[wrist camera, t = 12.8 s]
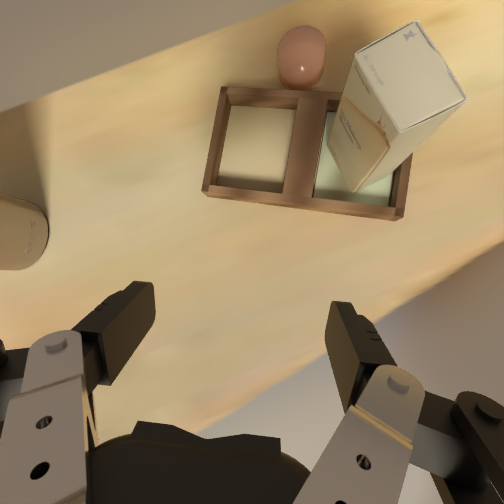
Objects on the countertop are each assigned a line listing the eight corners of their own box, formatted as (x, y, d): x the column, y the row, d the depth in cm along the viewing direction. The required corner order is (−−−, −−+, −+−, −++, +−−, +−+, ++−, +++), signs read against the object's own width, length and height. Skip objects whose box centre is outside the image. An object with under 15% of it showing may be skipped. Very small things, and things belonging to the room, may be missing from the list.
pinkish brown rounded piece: (275, 90, 30) (273, 70, 27) (282, 50, 30) (281, 26, 27) (319, 92, 29) (322, 72, 26) (326, 51, 30) (329, 26, 27)
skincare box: (325, 145, 28) (348, 51, 16) (364, 126, 28) (416, 13, 16) (352, 195, 27) (397, 134, 15) (392, 176, 27) (472, 97, 15)
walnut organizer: (207, 196, 30) (201, 191, 28) (225, 98, 31) (221, 86, 29) (395, 221, 27) (403, 217, 25) (411, 109, 27) (420, 96, 25)
